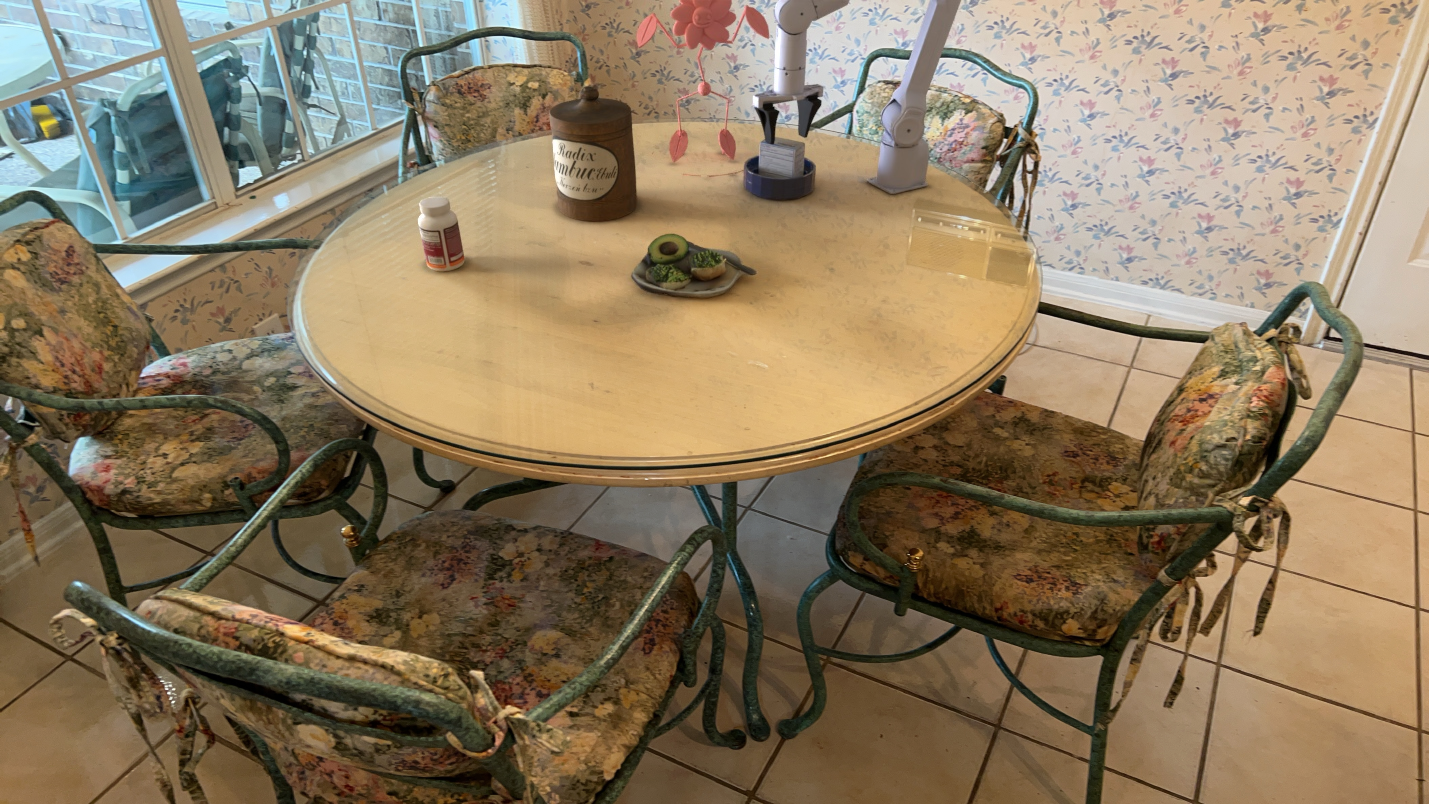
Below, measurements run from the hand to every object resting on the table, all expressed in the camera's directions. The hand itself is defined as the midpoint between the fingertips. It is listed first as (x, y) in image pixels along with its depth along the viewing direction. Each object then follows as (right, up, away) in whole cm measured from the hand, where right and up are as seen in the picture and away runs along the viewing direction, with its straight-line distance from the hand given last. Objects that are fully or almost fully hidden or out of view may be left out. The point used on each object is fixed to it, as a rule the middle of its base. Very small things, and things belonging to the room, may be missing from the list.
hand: (786, 139), depth 173 cm
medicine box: (-1, -8, +6) cm, 9 cm away
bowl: (-1, -8, +6) cm, 10 cm away
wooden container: (-36, -13, -2) cm, 38 cm away
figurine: (-16, -1, +16) cm, 23 cm away
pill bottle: (-58, -27, -22) cm, 68 cm away
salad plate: (-18, -30, -25) cm, 43 cm away
